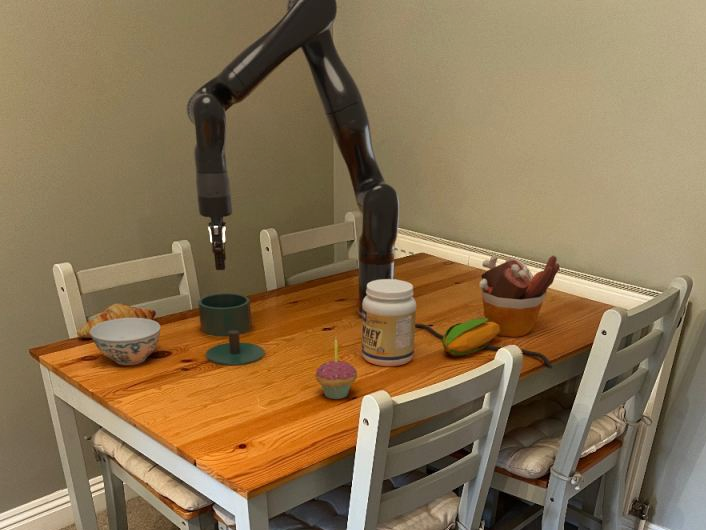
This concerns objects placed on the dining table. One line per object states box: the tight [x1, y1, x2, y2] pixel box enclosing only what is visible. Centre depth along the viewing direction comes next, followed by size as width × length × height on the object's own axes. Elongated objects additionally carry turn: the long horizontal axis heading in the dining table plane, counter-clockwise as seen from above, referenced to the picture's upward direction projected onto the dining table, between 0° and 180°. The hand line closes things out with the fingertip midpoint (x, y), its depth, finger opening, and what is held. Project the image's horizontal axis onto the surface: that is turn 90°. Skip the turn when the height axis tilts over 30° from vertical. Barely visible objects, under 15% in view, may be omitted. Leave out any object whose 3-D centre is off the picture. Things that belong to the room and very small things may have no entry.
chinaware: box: [90, 318, 161, 366], centre depth 167 cm, size 15×15×8 cm
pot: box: [197, 292, 253, 338], centre depth 186 cm, size 12×12×8 cm
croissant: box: [76, 302, 157, 339], centre depth 185 cm, size 21×10×8 cm, turn 136°
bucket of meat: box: [478, 254, 560, 338], centre depth 185 cm, size 20×16×20 cm
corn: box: [441, 317, 500, 357], centre depth 177 cm, size 7×8×20 cm
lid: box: [205, 330, 265, 367], centre depth 171 cm, size 13×13×6 cm
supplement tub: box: [361, 279, 417, 367], centre depth 169 cm, size 12×12×17 cm
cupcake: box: [315, 335, 358, 400], centre depth 152 cm, size 9×8×12 cm
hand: (221, 265), depth 179 cm, fingers open, 8 cm apart
